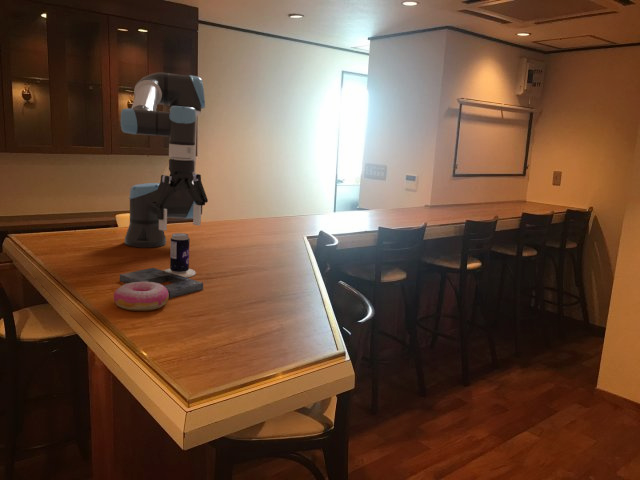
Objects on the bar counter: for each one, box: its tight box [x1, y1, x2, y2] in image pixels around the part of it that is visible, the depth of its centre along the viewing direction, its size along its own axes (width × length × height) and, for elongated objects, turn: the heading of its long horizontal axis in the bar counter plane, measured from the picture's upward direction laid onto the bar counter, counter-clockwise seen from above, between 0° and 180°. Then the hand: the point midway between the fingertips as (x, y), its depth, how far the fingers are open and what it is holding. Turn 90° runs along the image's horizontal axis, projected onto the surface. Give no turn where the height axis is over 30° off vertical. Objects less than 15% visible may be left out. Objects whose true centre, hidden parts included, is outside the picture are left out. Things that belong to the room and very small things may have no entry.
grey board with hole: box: [119, 267, 204, 299], centre depth 152 cm, size 22×12×2 cm, turn 56°
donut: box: [113, 282, 170, 312], centre depth 135 cm, size 14×13×5 cm
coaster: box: [163, 268, 196, 278], centre depth 165 cm, size 10×10×1 cm
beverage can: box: [169, 232, 191, 274], centre depth 164 cm, size 6×6×12 cm
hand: (180, 227), depth 163 cm, fingers open, 13 cm apart
